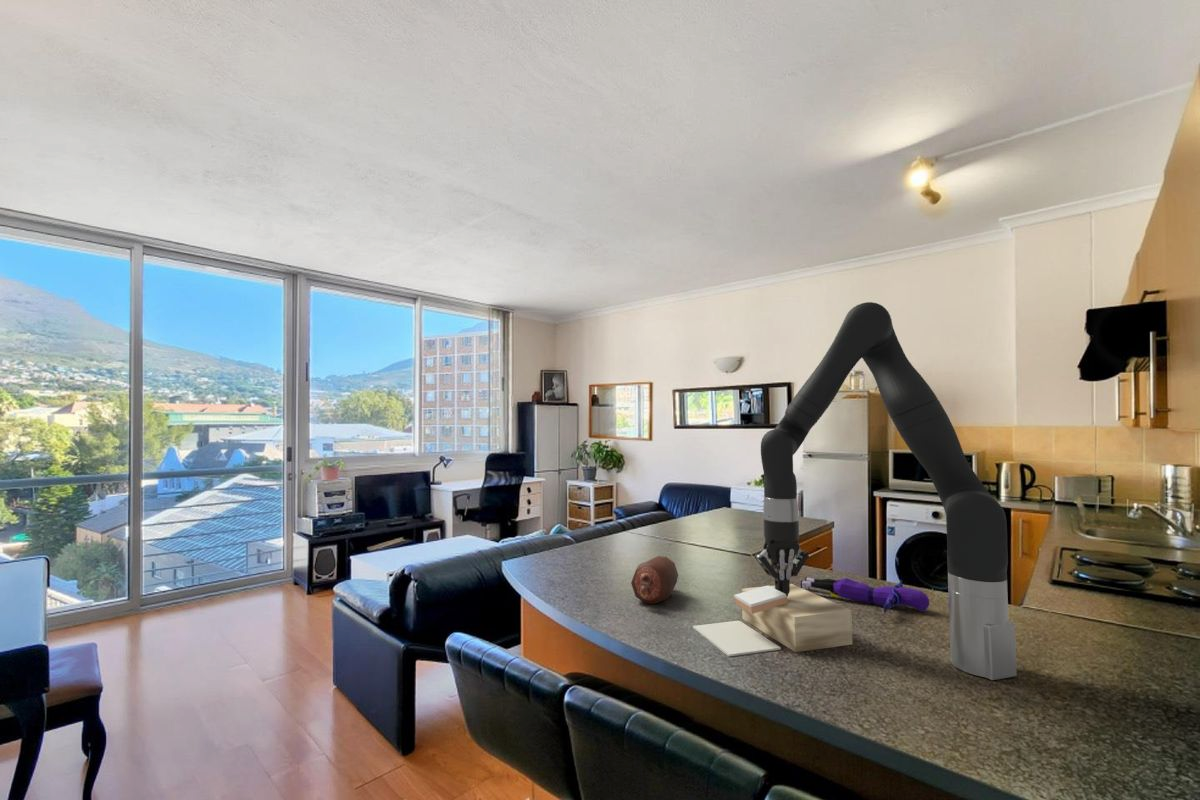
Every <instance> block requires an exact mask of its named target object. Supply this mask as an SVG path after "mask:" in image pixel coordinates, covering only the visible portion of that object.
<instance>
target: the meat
mask: <svg viewBox="0 0 1200 800" xmlns="http://www.w3.org/2000/svg"><path fill="white" fill-rule="evenodd" d="M678 578H679V573H678V569H677V567H676V564H675V562H674V561H672V560H671V559H670V558H668V557H667V556H660V555H659V556H655V557H653V558H651V559H648V560H647V561H645V562H642V563H640V564H639V565H637V567H636V569H635V572H634V574H633V577H632V579H631V582H630V584H631V587H632V590H633V592H634V596H635V598H637V599H638V600H640V601H641V602H643V603H644V604H648V603H649V605H654V604H657V603H658V604H659V603H660V602H663V601H664V600H668V599H669V597H670V596H671V595H672V594H673V591H674V589H675V587H676V585H677V583H678Z"/></svg>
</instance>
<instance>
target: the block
mask: <svg viewBox="0 0 1200 800" xmlns="http://www.w3.org/2000/svg"><path fill="white" fill-rule="evenodd" d="M769 586H770V587H772V588H774V589H775V585H769ZM760 587H761V586H758V587H757V586H756V587H747V588H746V587H745V588H741V593H742V592H746V591H749V590H753V589H756V588H760ZM789 587H790V592H789V593H788V596H786V597H787V600H788V603H787V604H784V605H781V606H777V607H774V608H771V609H767V610H764V611H761V612H757V613H754V614H751V613H749V612H748V611H746V610H744V609H743V608H741V611H742V612H741V616H742V619H743V620H744V621H745V622H747V623H748V624H750V625H752V626H754V627H755V628H756V629H758V630H760V631H761V632H763V633H765V634H766V635H767V636H769V637H771V638H772V639H774V640H775V641H777V642H778V643H780V644H781V645H783V646H784V647H786V648H788V649H789V650H790V651H793V652H794V653H801V652H807V651H808V652H809V651H814V650H823V649H828V648H835V647H842V646H849V645H853V618H852V617H853V616H852V613H853V612H852V610H851V609H850V608H847V607H844V606H843V605H841V604H839V603H836V602H834V601H832V600H830V599H827V598H825V597H822V596H820V595H819V594H816V593H813V592H811V591H809V590H805V589H802V588H801V586H799V585H796V584H793V583H790V586H789Z"/></svg>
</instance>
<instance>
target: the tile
mask: <svg viewBox="0 0 1200 800" xmlns="http://www.w3.org/2000/svg"><path fill="white" fill-rule="evenodd" d="M770 586H771V585H769V584H767V585H765V586H759V587H760V588H756V589H753V590H749V591H746V592H742V591H741V592H739V593H736V594H734V595H733V600H734V601H733V602H734V604H735V605H736V606H738V607H739V608H741V609H742V608H743V609H744V610H746V611H748V612H749V613H751V614H754V613H757V612H761V611H764V610H767V609H771V608H774V607H777V606H781V605H784V604H787V603H788V600H787V597H786V594H785V593H783V592H781V591H779V590H776V589H774V588H772V587H770Z"/></svg>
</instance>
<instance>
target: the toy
mask: <svg viewBox="0 0 1200 800" xmlns="http://www.w3.org/2000/svg"><path fill="white" fill-rule="evenodd" d="M800 588H802V589H805V590H807V591H809V589H810V588H815V589H820V590H824V591H827V592H829V594H830V596H832V597H833V598H836V599H840V598H843V599H847V600H850V601H857V602H860V603H868V604H872V605H876V606H881V607H883V613H884V614H886V612H887V610H890V609H892V608H894V607H897V606H906V607H908V608H910V609H912V608H915V610H918V611H920V612H923V613H924V612H925V611H926V610H928V608H929V606H930V598H929V597H928V595H927V594H926V593H925V592H924V591H922V590H918V589H915V588H910V587H909V588H908V587H904V585H903V580H902V579H901V580H899V582H898V583H897V584H896V585H894V586H879V587H871V586H870V585H868V584H866V583H863V582H859V581H856V580H853V579H850V578H847V577H845V578H844V577H843V578H841V579H833V578H832V579H830V578H825V579H824V578H823V579H817V578H811V577H808V576H805V579H803V580H802V579H801V581H800Z"/></svg>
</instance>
